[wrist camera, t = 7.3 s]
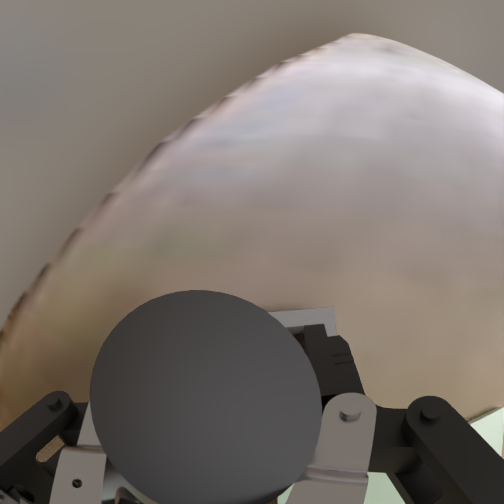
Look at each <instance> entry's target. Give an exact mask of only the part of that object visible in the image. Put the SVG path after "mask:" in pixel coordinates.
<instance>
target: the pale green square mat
mask: <svg viewBox="0 0 504 504" xmlns="http://www.w3.org/2000/svg"><path fill="white" fill-rule="evenodd" d="M468 423H469V424H470V425H471V426H472V427H473V428H474V429H475V430H476V431H477V432H478V433H479V434H480V435H481V436H482V437H483V438H484V440H485V441H486V442H487V443H488V444H489V445H490V446H491V447H492V448H493V449H494V450H495V451H496V452H497V453H498V454H499V455H500V456H501V453H502V443H503V430H504V407H497V408H495V409H493V410H491V411H489V412H487V413H485V414H483V415H481V416H479V417H477V418H475V419H472V420H470V421H468ZM367 475H368V476H369V480H368V487H367V491H366V496H365V500H364V504H405V502H404V501H403V499H402V498H401V496H400V495H399V493H398V492H397V490H396V488H395V487H394V485H393V484H392V482H391V481H390V479H389V478H388V476H387V475H386V473H376V472H367ZM293 485H294V484H293ZM293 485H292V486H290V487H289V488H288V489H287V490H286V491H285V492H284V493H283V494H281V495H280V496H278V504H285V503H286V501H287V499H288V497H289V494H290V492H291V490H292V487H293Z"/></svg>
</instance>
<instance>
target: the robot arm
mask: <svg viewBox="0 0 504 504" xmlns="http://www.w3.org/2000/svg"><path fill="white" fill-rule="evenodd" d="M304 352H305V353H306V355H307V357H308V358H309V360H310V363H311V365H312V367H313V370H314V372H315V374H316V378H317V381H318V385H319V389H320V394H321V403H322V422H321V429H320V434H319V439H318V443H317V445H316V448H315V451H314V454H313V456H312V458H311V460H310V462H309V463H308V465H307V467H306V469H305V470H304V472H303V473H302V474H301V475H300V477H299V478H298V479H297V480H296V482H295V483H294V485H293V487H292V490H291V492H290V494H289V497H288V499H287V501H286V503H285V504H364V500H365V496H366V491H367V487H368V480H369V476H368V475H367V472H376V473H386V475H387V476H388V478H389V479H390V481H391V482H392V484H393V485H394V487H395V488H396V490H397V492H398V493H399V495H400V496H401V498H402V499H403V501H404V502H405V504H504V459H503V458H502V457H501V456H500V455H499V454H498V453H497V452H496V451H495V450H494V449H493V448H492V447H491V446H490V445H489V444H488V443H487V442H486V441H485V440H484V438H483V437H482V436H481V435H480V434H479V433H478V432H477V431H476V430H475V429H474V428H473V427H472V426H471V425H470V424H469V423H468V422H467V421H466V420H465V419H464V418H463V417H462V416H461V415H460V414H459V413H458V412H457V411H456V410H455V409H454V408H453V407H452V406H451V405H450V404H449V403H448V402H447V401H445V400H444V399H442V398H439V397H436V396H424V397H420V398H418V399H416V400H415V401H413V402H412V403H411V404H410V405H409V407H408V409H392V408H384V407H380V406H377V405H375V403H374V402H373V401H372V400H371V399H370V398H369V397H367V396H366V395H365V393H364V390H363V387H362V384H361V381H360V377H359V374H358V371H357V368H356V365H355V363H354V359H353V356H352V355H351V350H350V348H349V345H348V343H347V342H346V341H345V340H344V339H343V338H342V337H341V336H340V335H338V336H329V337H328V336H327V332H326V329H325V325H324V323H323V324H312V325H304ZM56 435H58V436H59V438H60V439H61V440H62V441H63V442H64V443H65V445H64V446H62V447H61V448H60V449H59V450H58V451H57V452H56V453H55V454H54V455H53V456H52V457H51V458H49V459H48V460H47V461H46V462H39V461H37V460H36V454H37V453H38V452H39V451H40V450H41V449H42V448H43V447H44V446H45V445H46V444H48V443H49V442H50V441H51V440H52V439H53V438H54V437H55V436H56ZM0 504H159V503H157V502H155V501H153V500H151V499H149V498H148V497H146V496H145V495H143V494H142V493H141V492H139V491H138V490H136V489H135V488H134V487H133V486H132V485H131V484H129V483H128V482H127V481H126V480H125V479H124V478H123V477H122V476H121V474H120V473H119V472H118V471H117V470H116V469H115V467H114V466H113V465H112V463H111V462H110V460H109V459H108V457H107V456H106V454H105V452H104V450H103V448H102V446H101V444H100V442H99V439H98V437H97V434H96V431H95V428H94V424H93V421H92V415H91V408H90V401H89V402H87V403H73V401H72V400H71V398H70V397H69V395H68V394H67V393H66V392H63V391H55V392H52V393H49V394H48V395H46V396H45V397H44V398H42V399H41V400H40V401H39V402H37V403H36V404H35V405H34V406H32V407H31V408H30V409H29V410H27V411H26V412H25V413H24V414H22V415H21V416H20V417H19V418H17V419H16V420H15V421H14V422H13V423H11V424H10V425H9V426H8V427H6V428H5V429H4V430H3V431H1V432H0Z"/></svg>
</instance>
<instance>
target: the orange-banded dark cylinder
mask: <svg viewBox="0 0 504 504" xmlns="http://www.w3.org/2000/svg"><path fill="white" fill-rule="evenodd" d="M90 408H91V415H92V421H93V424H94V428H95V431H96V434H97V437H98V439H99V442H100V444H101V446H102V448H103V450H104V452H105V454H106V456H107V457H108V459H109V460H110V462H111V463H112V465H113V466H114V467H115V469H116V470H117V471H118V472H119V473H120V474H121V476H122V477H123V478H124V479H125V480H126V481H127V482H128V483H129V484H131V485H132V486H133V487H134V488H135V489H136V490H138V491H139V492H141V493H142V494H143V495H145V496H146V497H148V498H149V499H151V500H153V501H155V502H157V503H159V504H267V503H269V502H271V501H272V500H274V499H275V498H277V497H278V496H280V495H281V494H283V493H284V492H285V491H286V490H287V489H288V488H289V487H290V486H292V485H293V484H294V483H295V482H296V480H297V479H298V478H299V477H300V475H301V474H302V473H303V472H304V470H305V469H306V467H307V465H308V463H309V462H310V460H311V458H312V456H313V454H314V451H315V448H316V445H317V443H318V439H319V434H320V429H321V422H322V403H321V394H320V389H319V385H318V381H317V378H316V374H315V372H314V370H313V367H312V365H311V363H310V360H309V358H308V357H307V355H306V353H305V352H304V350H303V348H302V347H301V345H300V344H299V343H298V341H297V340H296V339H295V338H294V336H293V335H292V334H291V332H290V331H289V330H288V329H287V328H285V327H284V326H283V325H282V324H281V323H280V322H279V321H278V320H277V319H276V318H274V317H273V316H272V315H270V314H269V313H268V312H266V311H265V310H263V309H261V308H260V307H258V306H256V305H254V304H252V303H251V302H248V301H246V300H243V299H241V298H238V297H236V296H232V295H229V294H225V293H221V292H214V291H207V290H190V291H181V292H175V293H171V294H167V295H163V296H160V297H158V298H155V299H153V300H150V301H148V302H147V303H145V304H143V305H141V306H139V307H138V308H136V309H135V310H134V311H132V312H131V313H129V314H128V315H127V316H126V317H125V318H124V319H123V320H122V321H120V322H119V323H118V325H117V326H116V327H115V328H114V329H113V330H112V332H111V333H110V334H109V336H108V337H107V339H106V341H105V342H104V344H103V346H102V348H101V350H100V352H99V354H98V356H97V359H96V362H95V365H94V368H93V373H92V378H91V385H90Z"/></svg>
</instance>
